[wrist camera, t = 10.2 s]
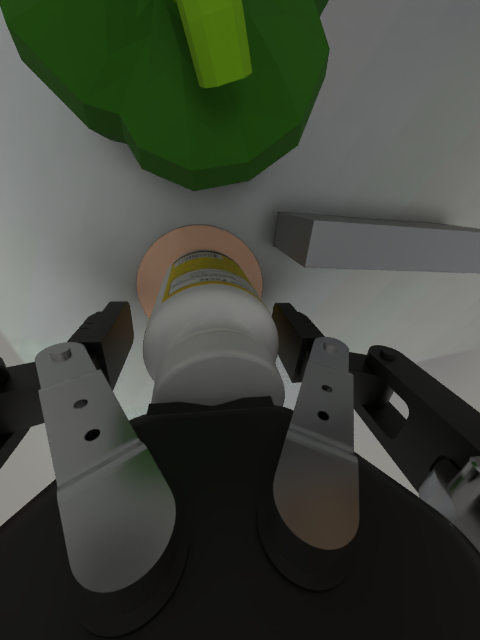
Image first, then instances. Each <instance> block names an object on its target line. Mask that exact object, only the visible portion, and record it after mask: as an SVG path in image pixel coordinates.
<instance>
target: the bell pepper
mask: <svg viewBox="0 0 480 640" xmlns="http://www.w3.org/2000/svg"><path fill="white" fill-rule="evenodd" d="M328 1H329V0H0V6H1V9H2V12H3V15H4V19H5V22H6V24H7V27H8V29H9V31H10V34H11V36H12V38H13V41H14V43H15V46H16V48H17V50H18V53H19V55H20V57H21V60H22V61H23V62H24V63H25V64H26V65H27V66H28V67H29V68H30V69H31V70H32V71H33V72H34V73H35V74H36V75H37V76H38V77H39V78H40V79H41V80H42V81H43V82H44V83H45V84H46V85H47V86H48V87H49V88H50V89H51V90H52V91H53V92H54V93H55V94H56V95H57V96H58V97H59V98H60V99H61V100H62V101H63V102H64V103H65V104H66V105H67V106H68V107H69V108H70V109H71V110H72V111H73V112H74V113H75V115H76V116H77V117H78V118H79V119H80V120H81V121H82V122H83V123H84V124H85V125H86V126H87V127H88V128H89V129H91V130H93V131H95V132H97V133H99V134H101V135H102V136H104V137H106V138H108V139H110V140H113V141H117V142H121V143H125V144H128V145H129V147H130V149H131V151H132V152H133V154H134V156H135V158H136V159H137V161H138V163H139V165H140V166H141V168H142V169H144V170H146V171H149V172H151V173H153V174H155V175H158V176H160V177H162V178H165V179H167V180H169V181H172V182H174V183H176V184H179V185H181V186H183V187H185V188H188V189H190V190H192V191H196V190H202V189H207V188H213V187H218V186H224V185H229V184H234V183H240V182H245V181H249V180H251V179H252V178H254V177H255V176H256V175H258V174H259V173H260V172H262V171H263V170H265V169H266V168H267V167H269V166H270V165H272V164H273V163H274V162H276V161H277V160H278V159H280V158H281V157H283V156H284V155H285V154H287V153H288V152H289V151H291V150H292V149H294V148H295V147H296V146H298V143H299V141H300V138H301V136H302V133H303V131H304V128H305V126H306V123H307V121H308V118H309V116H310V113H311V111H312V108H313V106H314V103H315V101H316V98H317V96H318V93H319V91H320V88H321V86H322V83H323V81H324V78H325V75H326V68H327V62H328V55H329V46H328V43H327V40H326V36H325V33H324V30H323V27H322V24H321V20H320V15H321V13H322V12H323V10H324V8H325V6H326V4H327V3H328Z"/></svg>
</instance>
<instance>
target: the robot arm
mask: <svg viewBox="0 0 480 640" xmlns="http://www.w3.org/2000/svg"><path fill="white" fill-rule="evenodd" d="M272 319H273V321H274V323H275V326H276V329H277V333H278V341H279V346H278V356H279V357H280V359H281V361H282V363H283V365H284V367H285V369H286V371H287V373H288V375H289V377H290V379H291V381H292V383H297V382H302V384H301V387H300V391H299V394H298V398H297V401H296V405H295V408H294V411H293V410H291V409H288V408H285V407H282V406H277V405H274V403H273V401H272V398H271V396H262V397H247V398H240V399H237V400H233V401H230V402H226V403H223V404H219V405H215V406H209V405H201V404H194V403H186V402H170V403H154V404H149V407H148V411H147V414H145V415H142V416H139V417H136V418H134V419H132V420H130V421H129V420H128V419H127V417H126V415H125V413H124V411H123V409H122V408H121V406H120V404H119V402H118V400H117V398H116V397H115V395H114V393H113V389H114V387H115V385H116V382H117V380H118V377H119V375H120V373H121V370H122V368H123V365H124V363H125V361H126V358H127V356H128V353H129V351H130V349H131V346H132V344H133V339H134V331H133V324H132V317H131V311H130V305H129V303H128V302H109V304H108V305H107V306H106V307H105V309H104V310H103V311H102V312H96V313H95V314H93V315H91V316H89V317H88V318H87V319H86V320H85V322H84V323H83V324H82V325H81V326H80V327H79V329H78V330H77V331H76V332H75V333H74V334H73V335H72V337H71V338H70V339H69V340H68V341H67V342H65V343H59V344H56V345H52V346H50V347H48V348H45V349H44V350H42V351H41V352H39V353H38V354H37V355H36V357H35V362H32V363H27V364H22V365H16V366H12V367H6V366H5V363H4V361H3V359H2V358H0V468H1V467H2V466H3V465H4V463H5V462H6V461H7V459H8V458H9V456H10V455H11V454H12V452H13V451H14V450H15V448H16V447H17V446H18V444H19V443H20V441H21V440H22V439H23V437H24V436H25V435H26V433H27V432H28V431H29V429H30V427H32V426H35V425H38V424H42V423H45V427H46V431H47V437H48V442H49V446H50V452H51V457H52V462H53V467H54V471H55V476H56V479H55V480H54V481H53V482H52V483H51V484H49V485H48V486H47V487H46V488H45V489H44V490H42V491H41V492H40V493H39V494H38V495H37V496H36V497H34V498H33V499H32V500H31V501H30V502H28V503H27V504H26V505H25V506H24V507H22V508H21V509H20V510H19V511H18V512H17V513H15V514H14V515H13V516H12V517H11V518H10V519H8V520H7V521H6V522H5V523H4V524H3V525H2V526H0V640H480V413H479V412H478V411H477V410H475V409H474V408H473V407H471V406H470V405H469V404H467V403H466V402H465V401H464V400H462V399H461V398H460V397H458V396H457V395H456V394H454V393H453V392H452V391H450V390H449V389H448V388H446V387H445V386H444V385H442V384H441V383H440V382H438V381H437V380H436V379H435V378H433V377H432V376H431V375H429V374H428V373H427V372H425V371H424V370H422V369H421V368H420V367H419V366H418V365H416V364H415V363H414V362H412V361H411V360H410V359H408V358H407V357H406V356H404V355H403V354H402V353H400V352H399V351H397V350H395V349H392V348H389V347H386V346H381V345H374V346H371V347H370V348H369V350H368V353H367V355H364V354H358V353H352V352H349V348H348V347H347V345H346V344H344V343H343V342H341V341H339V340H337V339H334V338H330V337H325V336H324V335H323V334H322V333H321V332H320V331H319V329H318V328H317V327H315V325H314V324H313V323H312V322H311V320H310V319H309V318H308V317H307V316H305V315H304V314H302V313H300V312H297V311H296V310H295V309H294V307H293V306H292V305H291V304H290V303H275V304H274V307H273V313H272ZM393 392H395V393H397V394H398V395H399V396H400V397H401V398H402V399H403V400H404V401H405V402H406V404H407V406H408V409H409V416H408V418H407V420H406V419H405V418H404V417H403V416H402V415H401V414H400V413H399V411H398V410H397V409H395V407H394V406H393V405H392V404H391V403H390V402H389V400H390V398H391V396H392V394H393ZM354 409H355V411H356V412H357V413H358V415H359V416H360V417H361V418H362V420H363V421H364V423H365V424H366V425H367V426H368V428H369V429H370V430H371V432H372V433H373V434H374V435H375V437H376V438H377V440H378V441H379V442H380V443H381V445H382V446H383V447H384V449H385V450H386V451H387V453H388V454H389V455H390V457H391V458H392V459H393V461H394V462H395V463H396V465H397V466H398V467H399V468H400V470H401V471H402V472H403V474H404V475H405V476H406V478H407V479H408V480H409V481H410V483H411V484H412V486H413V487H414V488H415V489H416V491H417V492H418V493H419V497H418V496H416V495H415V494H413V493H412V492H411V491H409V490H408V489H406V488H405V487H403V486H402V485H401V484H399V483H398V482H396V481H395V480H394V479H392V478H391V477H389V476H388V475H386V474H385V473H384V472H382V471H381V470H379V469H378V468H377V467H375V466H374V465H372V464H371V463H369V462H368V461H367V460H365V459H364V458H362V457H361V456H360V455H358V454H357V453H355V452H354V413H353V412H354Z"/></svg>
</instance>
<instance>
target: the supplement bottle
mask: <svg viewBox="0 0 480 640" xmlns="http://www.w3.org/2000/svg"><path fill="white" fill-rule="evenodd" d="M278 346H279V341H278V333H277V329H276V326H275V323H274V321H273V319H272V317H271V315H270V313H269V311H268V309H267V308H266V306H265V305H264V303H263V302H262V300H261V298H260V297H259V295H258V294H257V292H256V290H255V289H254V287H253V286H252V284H251V283H250V281H249V280H248V278H247V276H246V275H245V273H244V272H243V270H242V269H241V268H240V266H239V265H238V264H237V263H236V262H235V261H234V260H233V259H231V258H230V257H228V256H227V255H225V254H223V253H220V252H217V251H213V250H196V251H192V252H189V253H186V254H184V255H182V256H181V257H179V258H178V259H177V260H175V261H174V262H173V263H172V265H171V266H170V267H169V268H168V270H167V272H166V274H165V276H164V278H163V281H162V283H161V286H160V289H159V292H158V295H157V298H156V301H155V304H154V307H153V310H152V313H151V316H150V319H149V322H148V325H147V328H146V331H145V336H144V341H143V358H144V362H145V365H146V368H147V371H148V373H149V374H150V376H151V378H152V379H153V380H154V382H155V384H154V390H153V396H152V402H151V404H154V403H170V402H186V403H194V404H201V405H209V406H215V405H219V404H223V403H226V402H230V401H233V400H237V399H240V398H247V397H262V396H271V398H272V401H273V403H274V405H277V406H282V407H283V403H284V399H285V390H284V384H283V381H282V379H281V376H280V374H279V372H278V369H277V367H276V364H275V361H276V358H277V354H278Z"/></svg>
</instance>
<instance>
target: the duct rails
mask: <svg viewBox="0 0 480 640" xmlns="http://www.w3.org/2000/svg"><path fill="white" fill-rule="evenodd" d="M274 246H275V247H276V248H278V249H279V250H280V251H282V252H283V253H285V254H286V255H288V256H289V257H290V258H292V259H293V260H295V261H296V262H298V263H299V264H300V265H302V266H303V267H307V268H337V269H366V270H396V271H426V272H455V273H480V229H477V228H469V227H461V226H454V225H446V224H434V223H421V222H407V221H394V220H381V219H368V218H354V217H341V216H328V215H315V214H302V213H288V212H278V219H277V227H276V234H275V241H274Z"/></svg>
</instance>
